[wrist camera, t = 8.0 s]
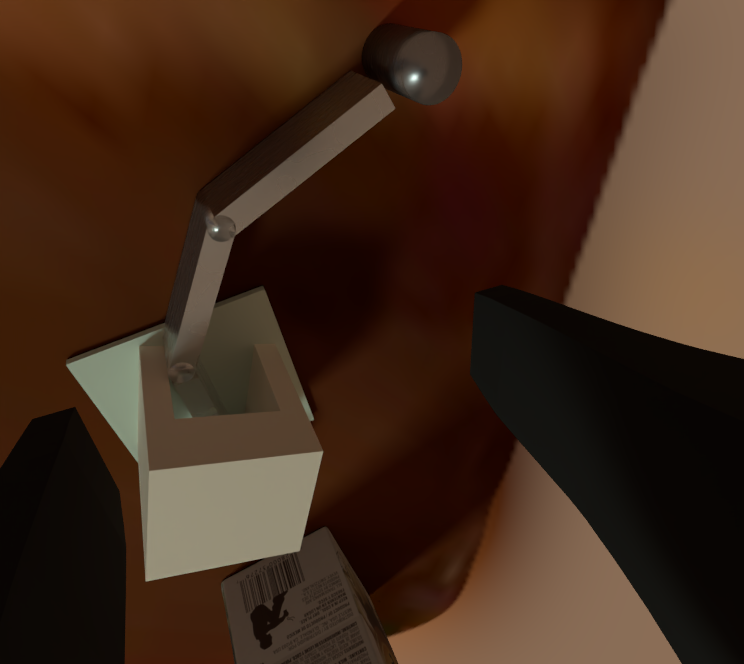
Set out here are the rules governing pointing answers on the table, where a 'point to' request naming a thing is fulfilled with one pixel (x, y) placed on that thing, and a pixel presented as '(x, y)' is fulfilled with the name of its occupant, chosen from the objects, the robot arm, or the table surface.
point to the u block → (223, 471)
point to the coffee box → (304, 610)
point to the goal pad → (218, 355)
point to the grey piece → (290, 182)
